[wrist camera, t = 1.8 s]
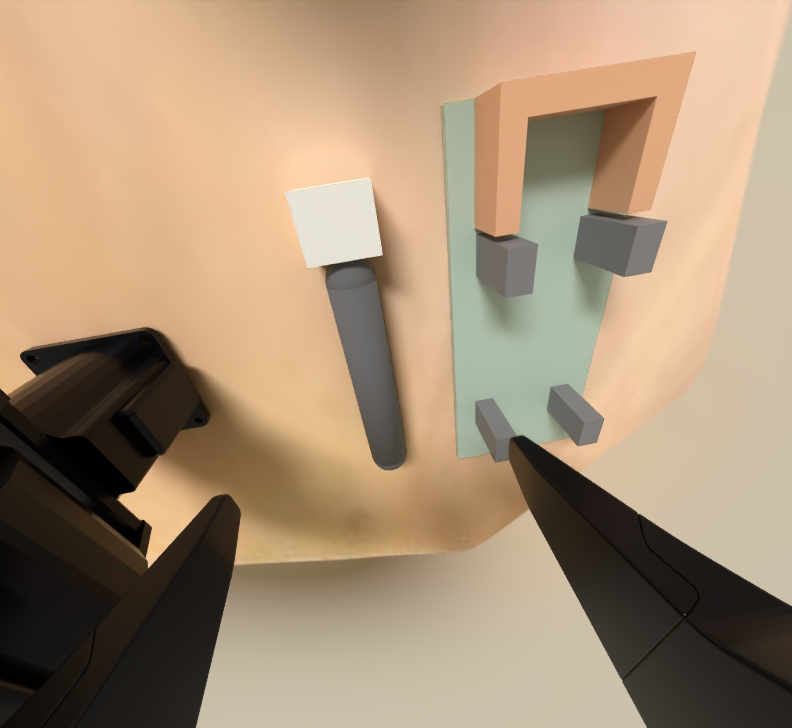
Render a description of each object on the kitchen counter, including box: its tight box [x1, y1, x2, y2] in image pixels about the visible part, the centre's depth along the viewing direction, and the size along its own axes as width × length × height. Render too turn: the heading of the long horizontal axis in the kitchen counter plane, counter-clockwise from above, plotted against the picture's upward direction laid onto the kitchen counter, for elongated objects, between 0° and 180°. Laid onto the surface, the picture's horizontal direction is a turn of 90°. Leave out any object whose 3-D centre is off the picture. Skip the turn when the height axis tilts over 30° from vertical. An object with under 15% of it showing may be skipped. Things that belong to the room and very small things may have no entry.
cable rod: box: [285, 178, 407, 470], centre depth 17 cm, size 3×17×2 cm, turn 8°
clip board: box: [441, 52, 696, 463], centre depth 16 cm, size 9×21×4 cm, turn 8°
